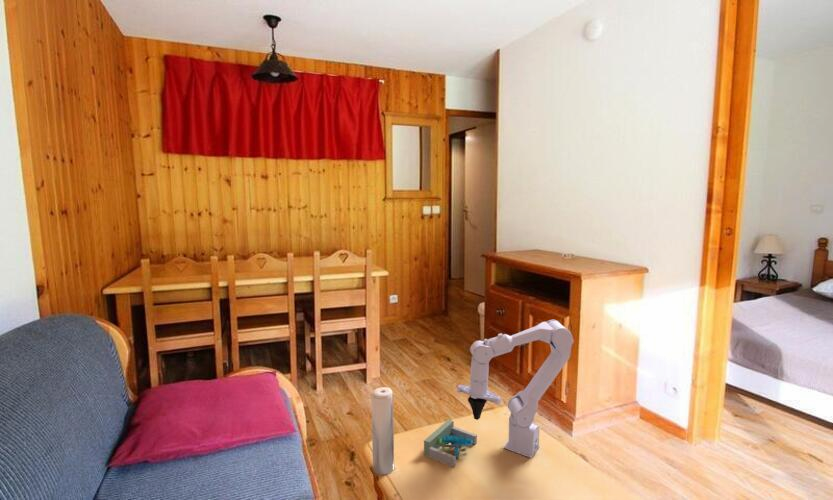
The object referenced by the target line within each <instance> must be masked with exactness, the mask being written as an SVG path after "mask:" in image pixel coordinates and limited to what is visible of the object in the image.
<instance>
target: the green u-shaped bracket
mask: <svg viewBox="0 0 833 500" xmlns="http://www.w3.org/2000/svg"><path fill="white" fill-rule="evenodd" d="M454 423H455V422H454V420H452V419H447V420H446V421H445V422H444V423H443V424H442V425H440V426H439V427H438V428H437V429H436V430H434V431H433V432H432V433H431V434H429V436H428V437H426V438H425V439H424V440H423V456H425V457H428V458H430V459H433V460H435V461H438V462H440V463H442V464H444V465H447V466H450V467H452V468H455V467H456V466H457V462H456V461H457V458H456V456H455V455H453V454H451V453H448V452H446V451H444V452H443V451H442V449H440V448H442V447H441V443H438V440H439V438H441V439H442V437H446V436H450V437H452V436H453V435H455V436H456V437H458V438H459V436H463V439H465V438H469V440H472V441H473V442H472V445H475V446H476V445H477V443H478V435H477V434H475V433H472V432H469V431H467V430H465V429H462V428H459V427H456V426H455V425H454Z"/></svg>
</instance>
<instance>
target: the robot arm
mask: <svg viewBox="0 0 833 500" xmlns="http://www.w3.org/2000/svg"><path fill="white" fill-rule="evenodd" d="M572 334H573V333H572V332H571V331H570V329H568V328H566V327H565V326H564V325H562V323H561V322H560V321H559V320H556V319H549V320H547V321H542V322H540V323H538V324H537V325H535V326H532V327H530V328H527V329H525V330H522V331H520V332H517V333H514V334H512V335H509V334H506V333H504V334H503V333H502V332H501V333H498V334H497V336H495V337H490V338H488V339H487V338H484V339H483V340H475V341H474V342H473V343H472V344H471V345H470V348H469V351H470V353H471V355H472V356H471V362H470V375H469V376H470V377H469V385H464V384H458V386H457V387H456V392H457V393H462V394H466V395H468V398H467V402H468V404H469V405H470V408H471V411H472V414H473V419H474V420H476V421H478V420H479V419H480V418H481V415H482V412H483V410H484V407H485V405H486V404H487V402H488V401H489V402H491V403H494V404H495V405H499V404H500V403H501V401H502V400H501V398H502V397H501V396H499V395H497V394H496V393H495V394H494V393H493V392H491V391H490V390H489V387H488V386H489V371H490V369H489V368H490V365H489V363H490V361H491V360H492V359H493V358H495V357H498V356H501V355H504V354H507V353H510V352H513V350H514V348H515V347H516V346H520V345H524V344H528V343H532V342H535V341H541V342H544V343H547V344H548V345H549V347H550V351H551V352H550V353H549V355H548V356H547V358H546V359H545V360H544V362H543V363H542V365H541V366H540V368H538V370H537V372H536V373H535V374H534V376H533V377H532V379H531V380H530V381H529V383H528V384H527V386H526V387H525V388H524V389H522V390H519V391H518V392H517V393H516V394H515V395H514V396H512V397H510V399H509V400H508V402H507V408H508V410H509V411H510V415H509V417H508V441H507V442H506V443H505V444H504V445H503V448H504V449H506V450H509V451H511V452H513V453H516V454H519V455H523V456H525V457H528V458H530V459H531V458H533V456H534V455H535V454H536V452H537V450H538V449H539V447H540V427H539V426H538V425H536V424H534V420H535V416H536V414H537V412H538V408H539V407H538V405H539V401H540V400H541V398H542V397H543V396H544V395H545V393H546V392H547V390H548V389H549V387H550V386H551V384H552V383H553V382H554V380H556V378H557V376H558V375H559V374H560V372H561V370H562V369H563V368H564V367H565V365H566V364H567V362H568V361H569V360H570V358H571V352H572V351H571V350H572V345H573V344H574V343H575V340H574V337H573V335H572Z"/></svg>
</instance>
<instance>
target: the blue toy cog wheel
mask: <svg viewBox="0 0 833 500" xmlns="http://www.w3.org/2000/svg"><path fill="white" fill-rule="evenodd" d="M472 442H473V441H472V440H469V438H465V439H463V436H459V438H458V437H456V436H455V435H453V436H451V437H450V436H446V437H442V439H441V438H439V440H438V443H441V447H440V448H441V451H443V452H445V448H454V456H456V459H457V458H459V448H460V447H462V446H465V447H469V446H472V445H473V444H472Z"/></svg>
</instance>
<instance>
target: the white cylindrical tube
mask: <svg viewBox="0 0 833 500" xmlns="http://www.w3.org/2000/svg"><path fill="white" fill-rule="evenodd" d="M370 398H371V433H372V435H371V438H372V439H371V442H372V471H373V473H375V474H377V475H379V476H386V475H389V474H391V473H393V471H394V469H395V441H394V439H395V437H394V435H395V433H394V432H395V431H394V430H395V429H394V424H395V423H394V393H393V390H392V388H390V387H386V386H385V387H384V386H383V387H378V388H377V387H376V389H374V390H373V393H372V394H371V397H370Z"/></svg>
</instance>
